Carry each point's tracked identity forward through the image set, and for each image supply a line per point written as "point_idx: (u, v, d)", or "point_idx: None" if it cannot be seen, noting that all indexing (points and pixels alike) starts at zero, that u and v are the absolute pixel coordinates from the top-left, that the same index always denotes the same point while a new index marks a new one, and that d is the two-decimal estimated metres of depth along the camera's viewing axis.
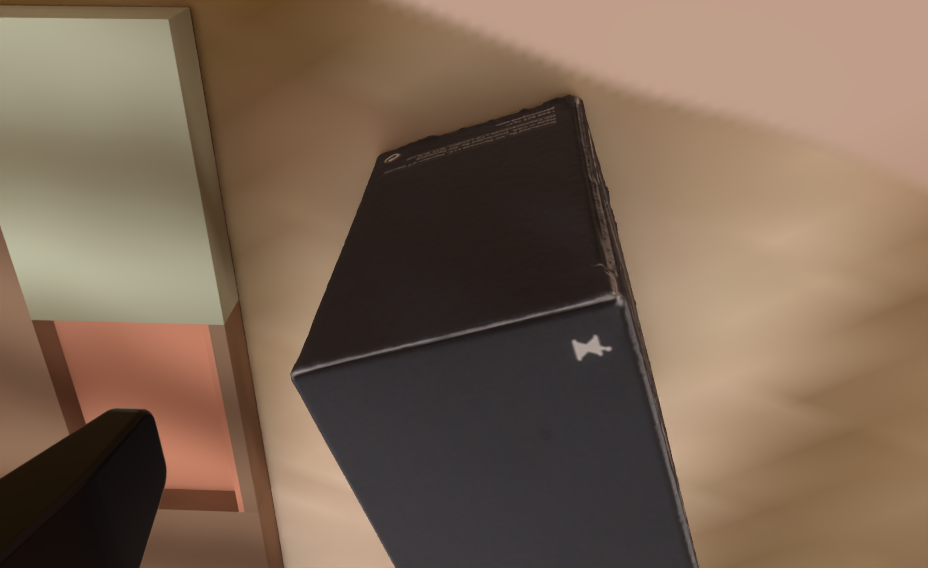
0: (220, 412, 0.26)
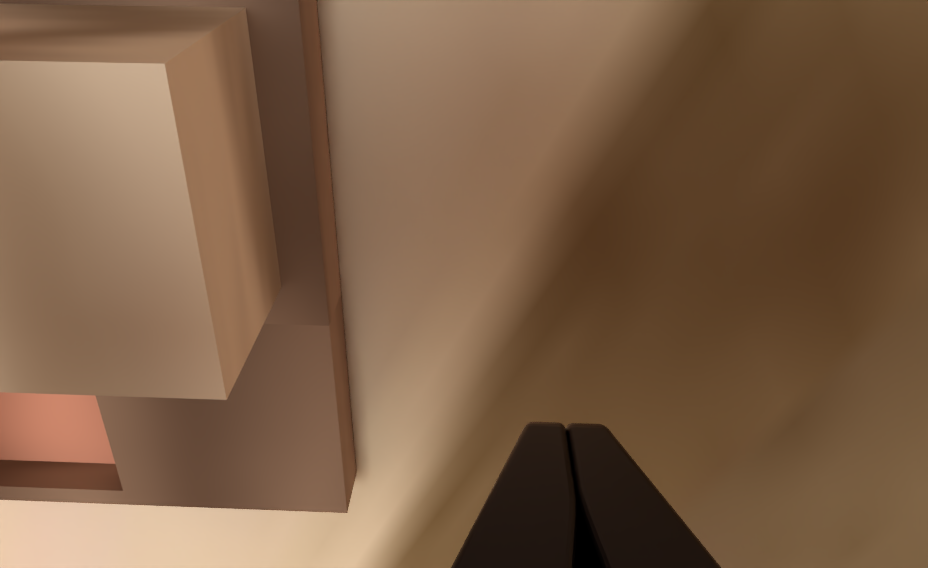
0: None
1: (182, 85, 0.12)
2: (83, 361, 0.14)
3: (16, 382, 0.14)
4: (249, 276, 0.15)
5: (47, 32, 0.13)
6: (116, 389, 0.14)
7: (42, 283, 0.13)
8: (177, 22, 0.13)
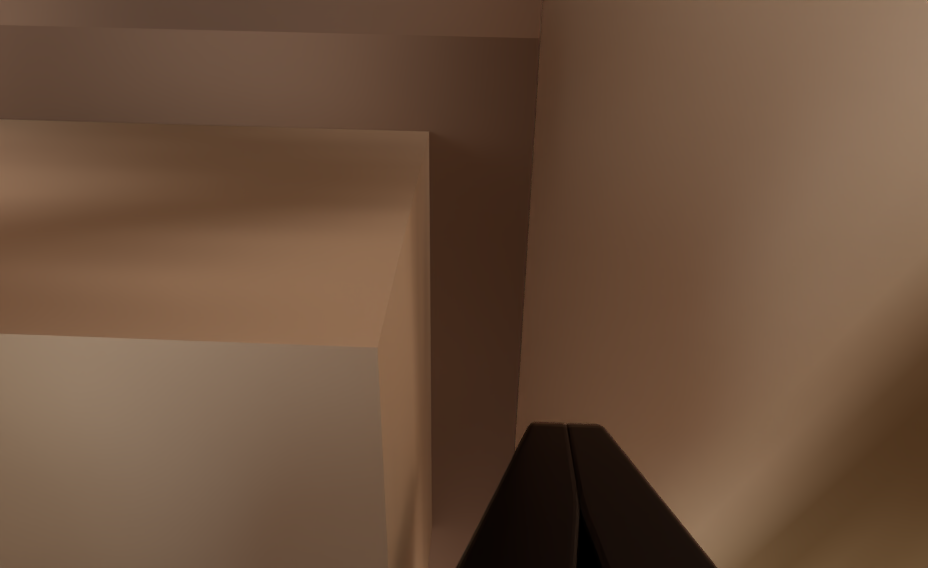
0: None
1: (390, 359, 0.06)
2: None
3: None
4: None
5: (95, 214, 0.06)
6: None
7: None
8: (332, 178, 0.07)
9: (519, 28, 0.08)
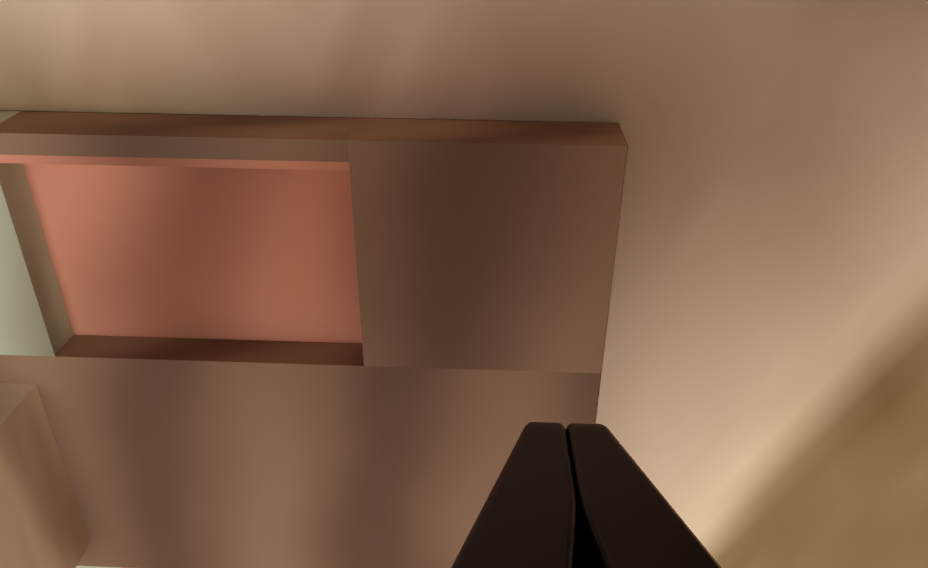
0: (144, 164, 0.17)
1: None
2: None
3: None
4: (45, 563, 0.21)
5: None
6: None
7: None
8: None
9: (593, 370, 0.20)
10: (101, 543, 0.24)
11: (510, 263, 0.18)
